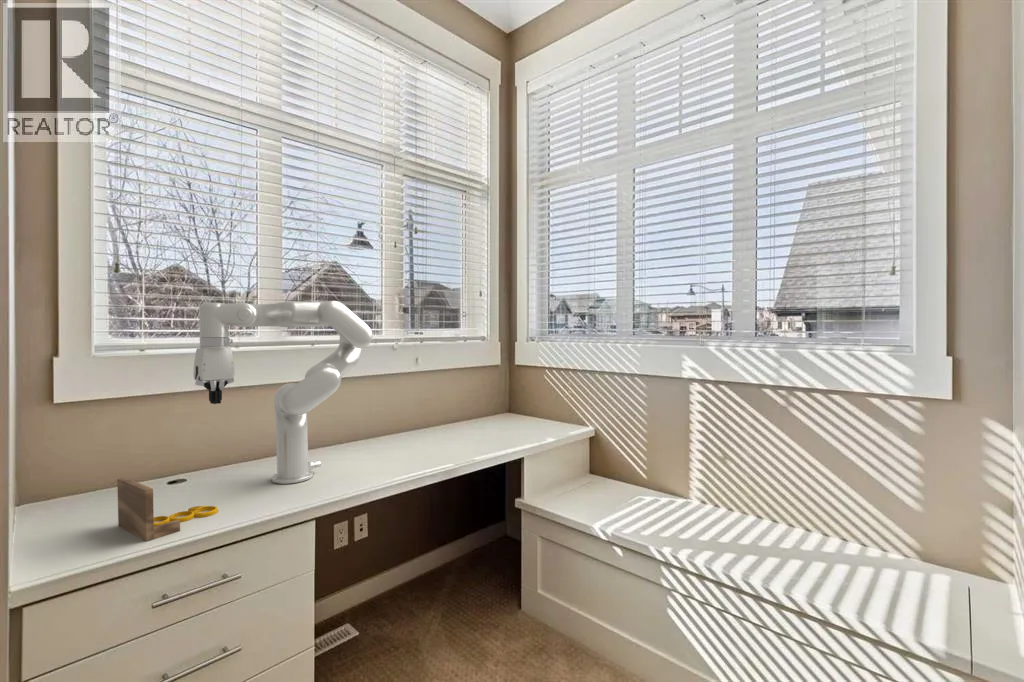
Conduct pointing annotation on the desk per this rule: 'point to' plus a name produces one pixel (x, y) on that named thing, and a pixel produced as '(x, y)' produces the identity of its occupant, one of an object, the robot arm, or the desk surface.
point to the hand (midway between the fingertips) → (215, 403)
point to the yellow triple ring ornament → (191, 514)
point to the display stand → (140, 511)
